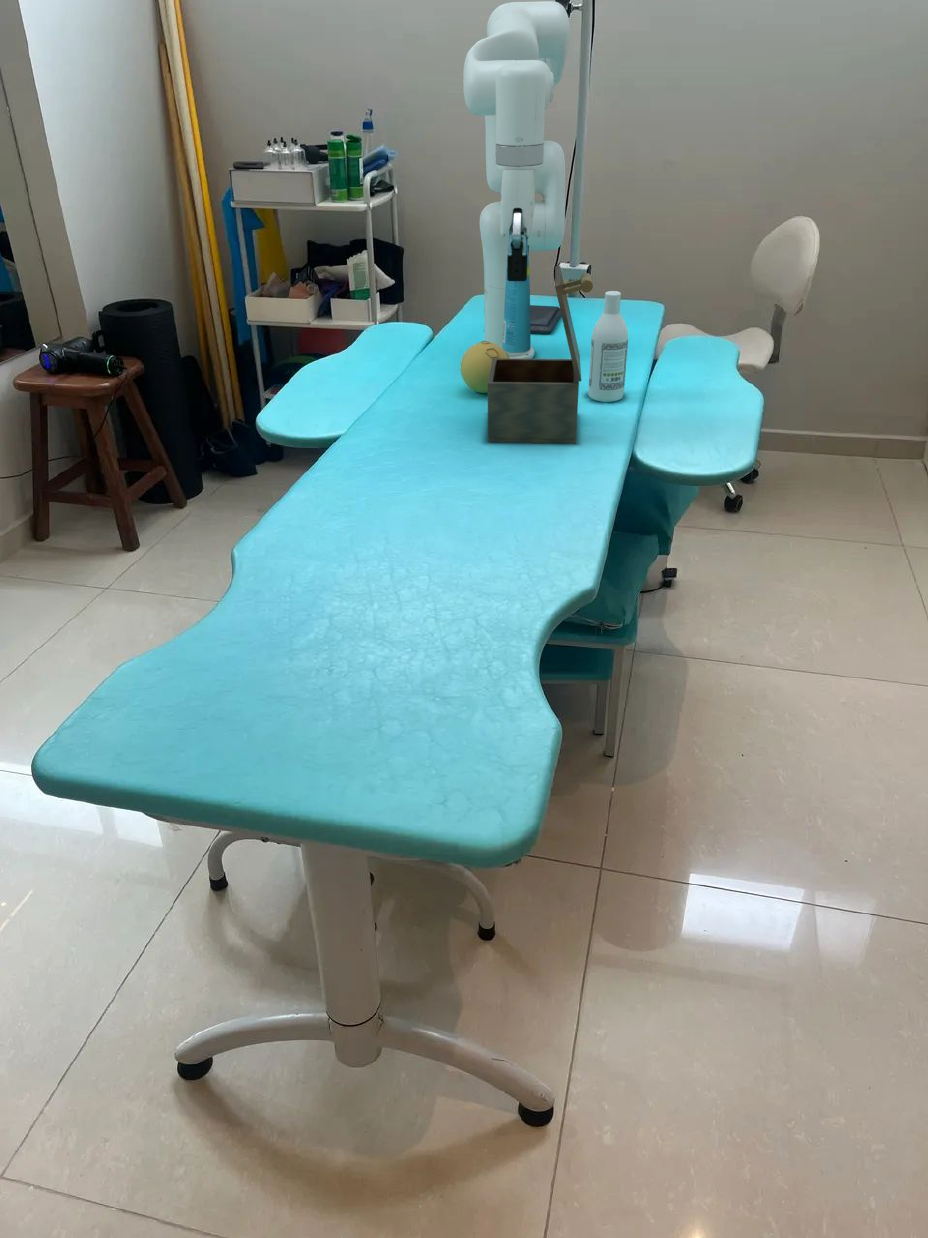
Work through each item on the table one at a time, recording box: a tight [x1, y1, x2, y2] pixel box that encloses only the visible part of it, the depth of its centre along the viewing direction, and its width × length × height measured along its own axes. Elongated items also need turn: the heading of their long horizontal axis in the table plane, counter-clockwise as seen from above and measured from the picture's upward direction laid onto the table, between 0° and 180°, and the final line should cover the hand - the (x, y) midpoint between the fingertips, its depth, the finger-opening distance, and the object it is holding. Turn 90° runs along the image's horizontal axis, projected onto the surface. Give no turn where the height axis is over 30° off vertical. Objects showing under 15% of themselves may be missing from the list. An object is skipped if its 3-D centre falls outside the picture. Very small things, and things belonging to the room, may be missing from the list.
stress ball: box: [460, 340, 509, 394], centre depth 182 cm, size 10×10×10 cm
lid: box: [554, 264, 594, 383], centre depth 157 cm, size 16×14×6 cm
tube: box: [503, 232, 531, 353], centre depth 155 cm, size 7×5×19 cm, turn 26°
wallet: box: [530, 304, 562, 335], centre depth 225 cm, size 20×2×15 cm
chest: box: [487, 358, 580, 445], centre depth 165 cm, size 16×14×11 cm
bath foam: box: [587, 290, 629, 403], centre depth 176 cm, size 7×7×20 cm
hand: (518, 274), depth 153 cm, fingers closed on tube, 6 cm apart
